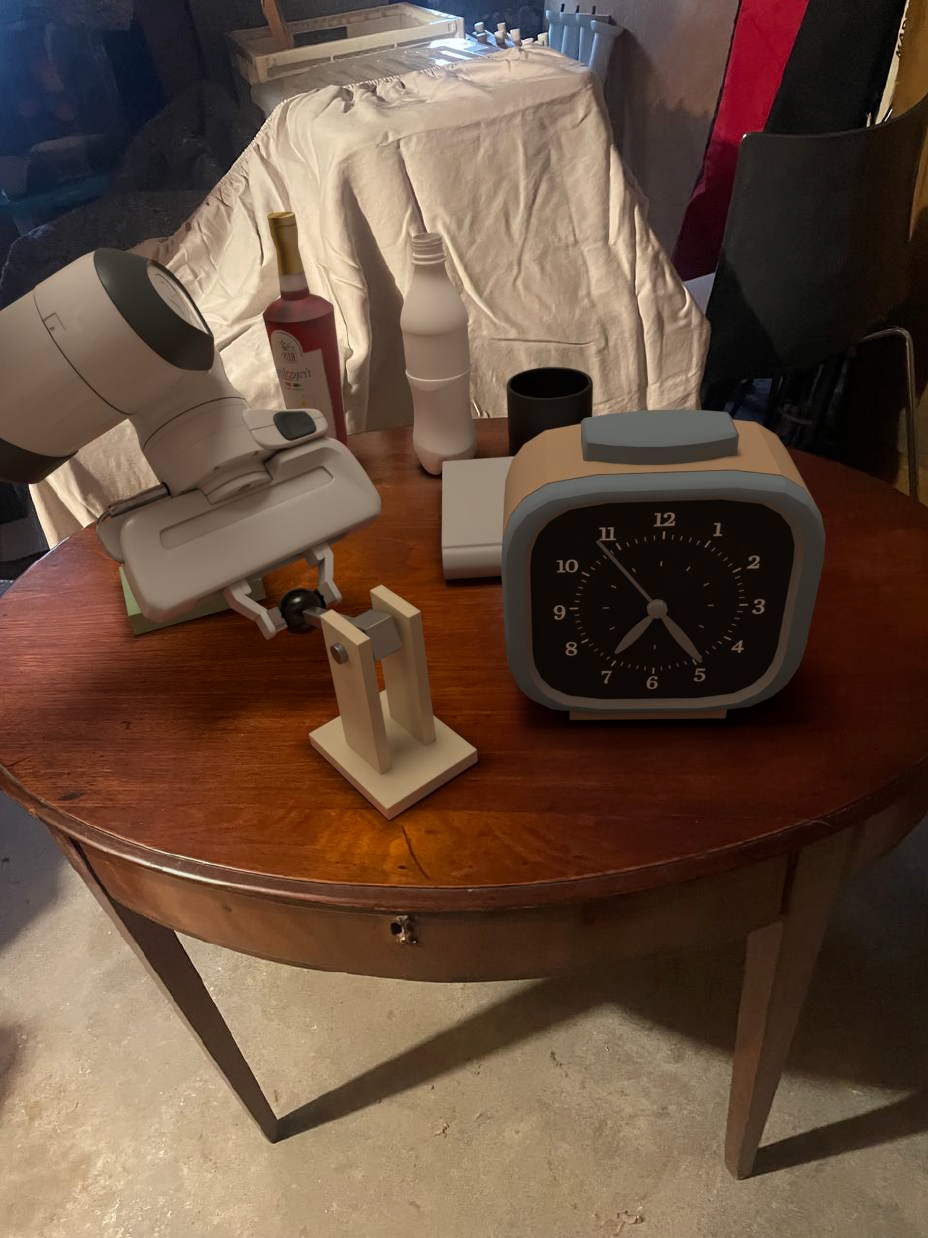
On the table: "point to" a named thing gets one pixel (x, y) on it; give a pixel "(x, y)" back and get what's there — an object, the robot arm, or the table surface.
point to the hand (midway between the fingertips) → (306, 619)
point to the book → (473, 516)
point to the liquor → (303, 335)
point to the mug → (546, 402)
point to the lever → (307, 607)
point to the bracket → (387, 714)
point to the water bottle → (437, 359)
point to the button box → (213, 606)
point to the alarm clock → (657, 566)
